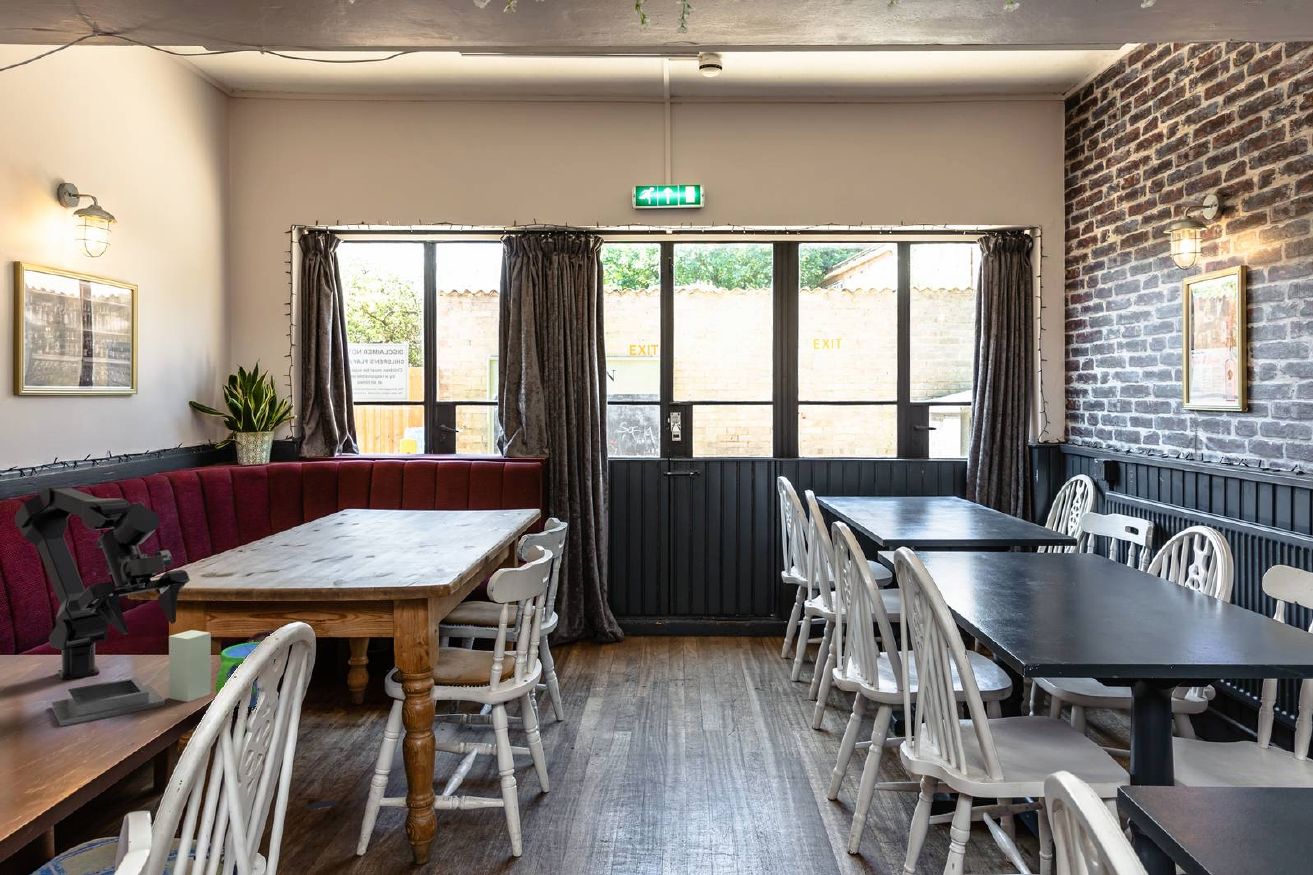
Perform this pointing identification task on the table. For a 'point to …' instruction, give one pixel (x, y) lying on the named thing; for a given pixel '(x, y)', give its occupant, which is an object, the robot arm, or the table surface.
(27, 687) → the table surface
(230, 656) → the snack cup
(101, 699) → the grey rectangular tray
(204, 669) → the sage block
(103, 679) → the table surface
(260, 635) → the icecream
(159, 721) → the table surface
